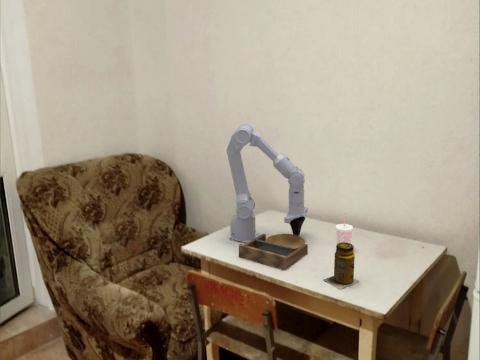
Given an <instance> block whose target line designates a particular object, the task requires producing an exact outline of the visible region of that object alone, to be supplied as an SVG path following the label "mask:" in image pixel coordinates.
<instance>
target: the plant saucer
mask: <svg viewBox="0 0 480 360" xmlns="http://www.w3.org/2000/svg"><path fill="white" fill-rule="evenodd" d="M265 241H266V242H270V243H274V244H278V245H282V246H286V247H290V248H294V251H295V250H296V249H298V248H299V247H301V246H302V245H303V244H306V240H305V239H304V237H303V236H300V235H299V236H297V235H293V233H277V234H273V235H270V236H268V237H266V240H265Z"/></svg>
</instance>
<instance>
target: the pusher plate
mask: <svg viewBox="0 0 480 360" xmlns="http://www.w3.org/2000/svg"><path fill="white" fill-rule="evenodd" d="M255 248H257V249H261V250H265V251H269V252H272V253H276V254H280V255H284V256H288V255H289V254H291V253H292V252H294V248H290V247H286V246H282V245H278V244H274V243H270V242H266V241H262V240H258V239H255Z"/></svg>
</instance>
